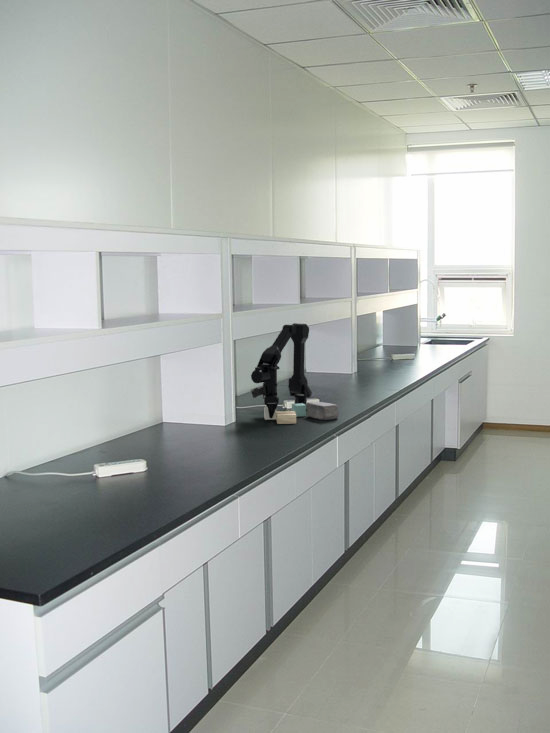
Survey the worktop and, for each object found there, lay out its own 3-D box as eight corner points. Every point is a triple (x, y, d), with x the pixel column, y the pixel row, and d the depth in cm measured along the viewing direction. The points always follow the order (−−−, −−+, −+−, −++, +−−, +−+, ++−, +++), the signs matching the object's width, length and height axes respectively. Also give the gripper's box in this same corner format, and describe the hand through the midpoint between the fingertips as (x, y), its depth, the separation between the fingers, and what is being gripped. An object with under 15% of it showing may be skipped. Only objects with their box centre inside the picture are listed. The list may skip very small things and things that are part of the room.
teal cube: (291, 414, 361) (291, 403, 360) (302, 414, 362) (302, 403, 362) (295, 416, 356) (295, 405, 355) (306, 416, 358) (306, 405, 357)
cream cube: (264, 417, 355) (264, 406, 354) (275, 417, 355) (275, 406, 354) (264, 419, 350) (264, 408, 349) (276, 419, 350) (276, 408, 350)
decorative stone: (333, 422, 345) (341, 417, 354) (332, 406, 344) (341, 402, 353) (301, 419, 352) (311, 414, 361) (301, 404, 351) (310, 399, 360)
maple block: (276, 420, 349) (276, 411, 349) (294, 420, 350) (294, 411, 349) (277, 424, 341) (277, 415, 341) (296, 424, 342) (296, 414, 341)
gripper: (251, 377, 359) (251, 411, 361) (252, 384, 341) (252, 420, 343) (276, 377, 360) (276, 411, 362) (278, 383, 341) (278, 420, 343)
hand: (270, 415), depth 352 cm, fingers open, 9 cm apart
